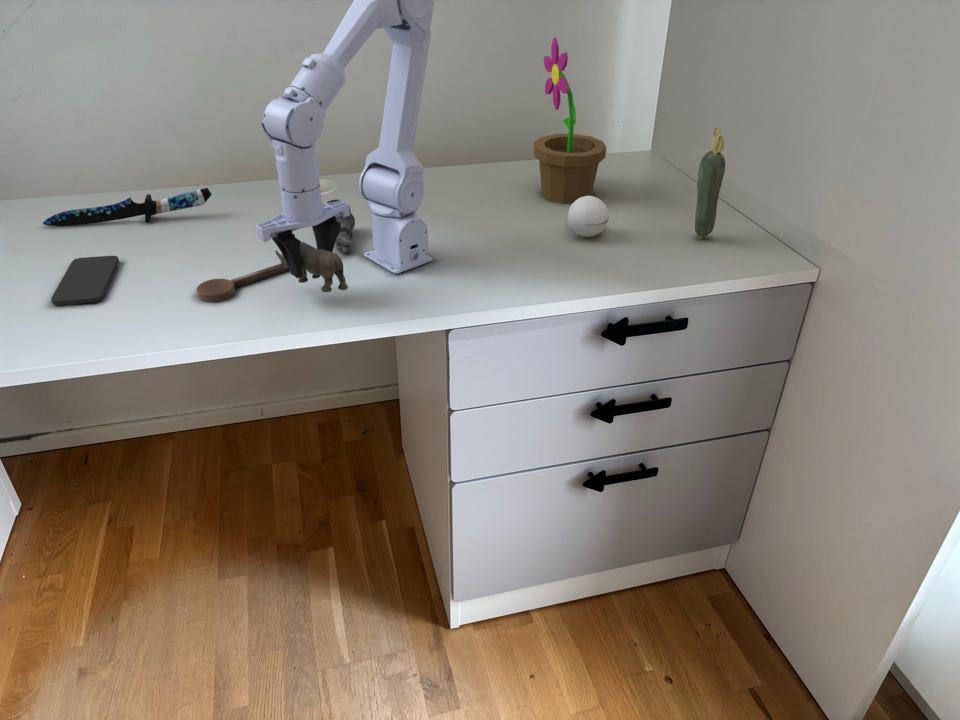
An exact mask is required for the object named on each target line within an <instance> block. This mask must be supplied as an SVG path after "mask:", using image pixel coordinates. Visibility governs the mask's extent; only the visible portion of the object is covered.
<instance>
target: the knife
mask: <svg viewBox="0 0 960 720" xmlns="http://www.w3.org/2000/svg"><path fill="white" fill-rule="evenodd" d="M210 197H212V192H211V190H210V189H209V188H208V187H204V188H203V187H202V188H199V189H196V190H192V191H189V192H185V193H181V194H178V195H174V196H170V197H167V198H163V199H159V200H153V199H152V194H150V193H149V194H148V193H147V194H146V195H145V198H144V202H141V203H139V202H135V201H133V199H132V197H128V198H126V199H124V200H122V201H119V202H116V203H114V204H107V205H102V206H95V207H86V208H85V207H84V208H77V209H70V210H65V211H62V212H59V213H55V214H53V215H51V216H50V217H47V218H46V219H45V220H44V221H42V224H43V226H48V227H71V226H83V225H92V224H99V223H107V222H112V221H117V220H124V219H130V218H135V217H140V216H144V219H145V223H150V221H151V218H152V216H154V215H158V214H159V215H160V214H163V213H169V212H173V211H180V210H185V209H190V208H195V207H201V206H204V205H205V204H206V203H207V202H208V200H209V199H210Z"/></svg>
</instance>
